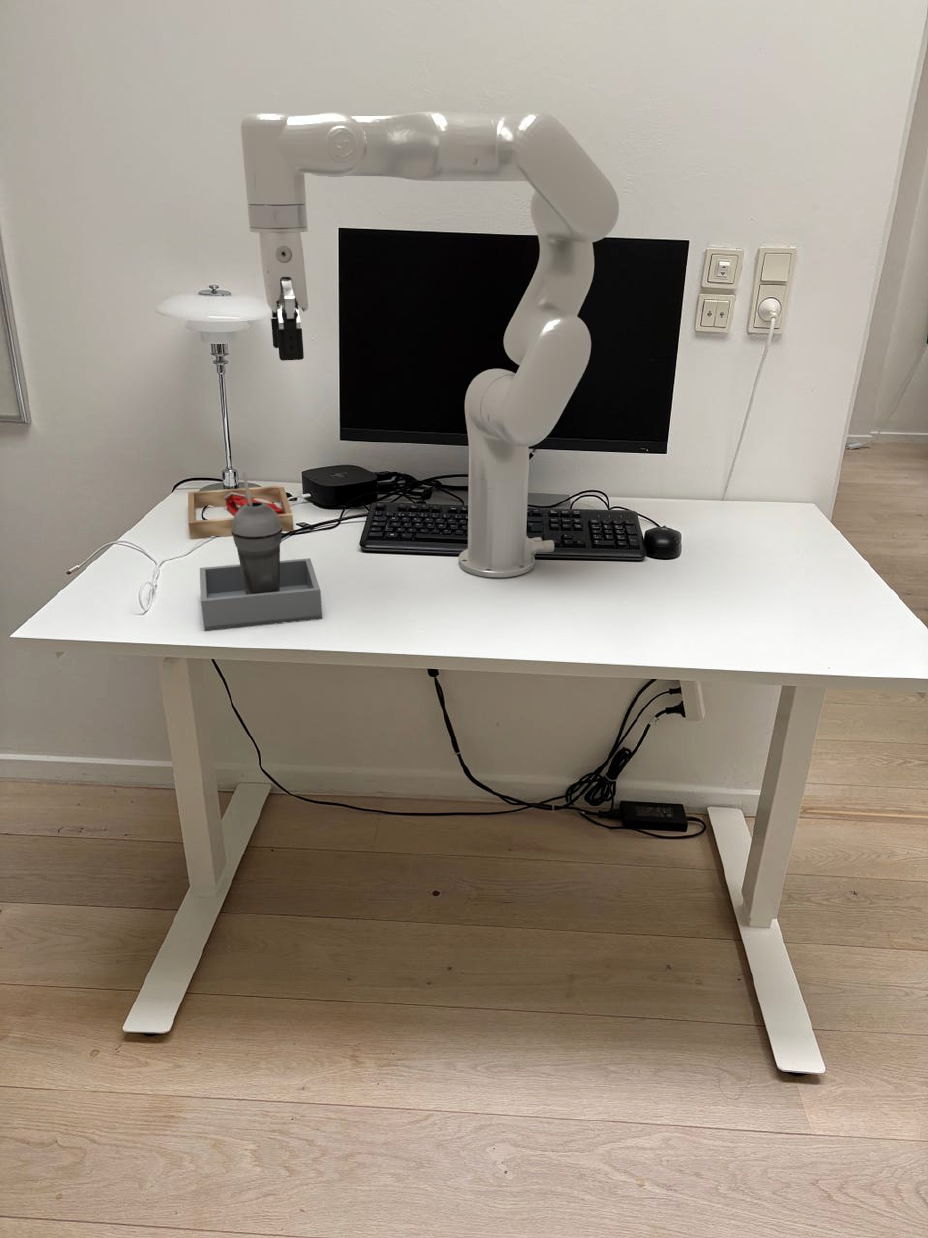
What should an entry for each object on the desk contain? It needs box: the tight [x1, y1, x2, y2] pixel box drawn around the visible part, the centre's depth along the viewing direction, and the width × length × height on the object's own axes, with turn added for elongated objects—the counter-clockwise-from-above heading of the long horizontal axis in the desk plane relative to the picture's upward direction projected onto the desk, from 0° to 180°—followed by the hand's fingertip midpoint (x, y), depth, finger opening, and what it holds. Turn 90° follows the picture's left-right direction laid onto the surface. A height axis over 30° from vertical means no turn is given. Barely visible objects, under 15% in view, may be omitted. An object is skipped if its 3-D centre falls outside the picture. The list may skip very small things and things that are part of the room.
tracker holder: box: [223, 492, 283, 517], centre depth 180 cm, size 12×4×10 cm
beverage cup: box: [231, 471, 283, 595], centre depth 139 cm, size 7×7×20 cm
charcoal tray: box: [199, 558, 323, 632], centre depth 142 cm, size 17×13×5 cm
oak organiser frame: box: [187, 485, 295, 540], centre depth 178 cm, size 18×18×3 cm
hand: (288, 353), depth 133 cm, fingers open, 9 cm apart
